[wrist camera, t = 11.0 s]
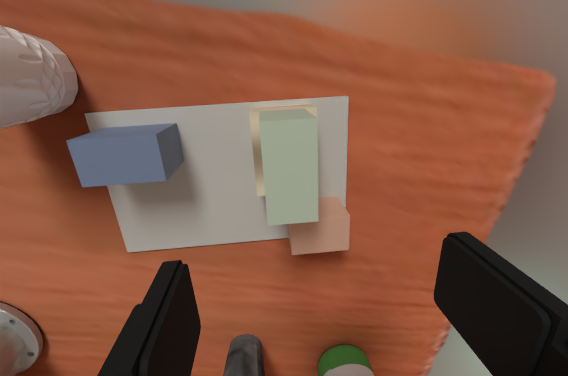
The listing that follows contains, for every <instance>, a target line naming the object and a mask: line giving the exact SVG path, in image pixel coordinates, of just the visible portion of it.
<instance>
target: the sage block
mask: <svg viewBox="0 0 568 376" xmlns="http://www.w3.org/2000/svg"><path fill="white" fill-rule="evenodd" d="M259 128H260V140H261V151H262V163H263V175H264V187H265V199H266V210H267V222H268V226H270V225H282V224H294V223H305V222H317V221H318V118H317V117H315V116H314V115H313V114H311V113H310V112H309V111H307V110H306V109H292V110H276V111H261V112H259Z"/></svg>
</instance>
